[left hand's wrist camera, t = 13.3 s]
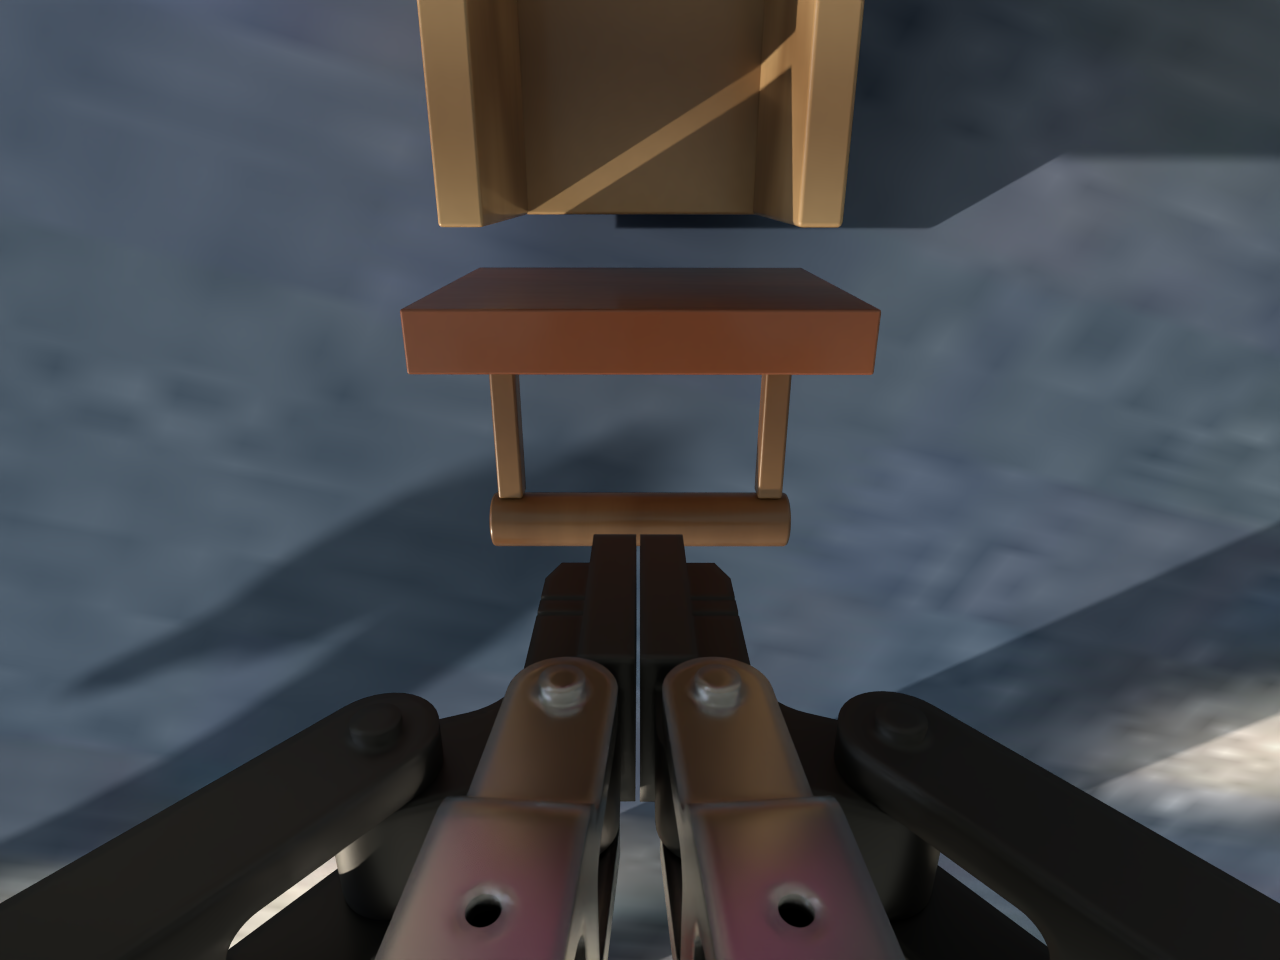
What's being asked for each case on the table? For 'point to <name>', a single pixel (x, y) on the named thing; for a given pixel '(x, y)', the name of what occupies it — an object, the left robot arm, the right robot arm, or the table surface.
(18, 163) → the table surface
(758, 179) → the wooden drawer
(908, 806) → the left robot arm
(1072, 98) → the table surface
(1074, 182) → the table surface
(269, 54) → the table surface
